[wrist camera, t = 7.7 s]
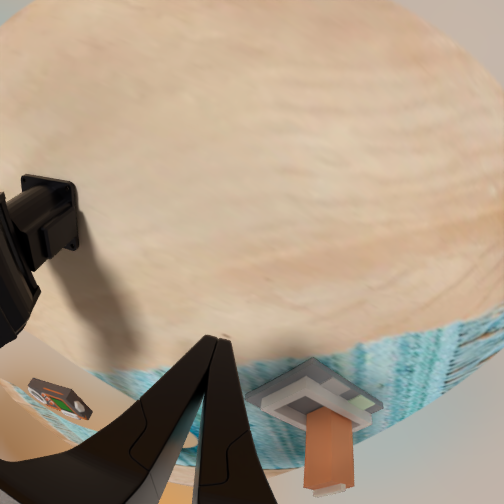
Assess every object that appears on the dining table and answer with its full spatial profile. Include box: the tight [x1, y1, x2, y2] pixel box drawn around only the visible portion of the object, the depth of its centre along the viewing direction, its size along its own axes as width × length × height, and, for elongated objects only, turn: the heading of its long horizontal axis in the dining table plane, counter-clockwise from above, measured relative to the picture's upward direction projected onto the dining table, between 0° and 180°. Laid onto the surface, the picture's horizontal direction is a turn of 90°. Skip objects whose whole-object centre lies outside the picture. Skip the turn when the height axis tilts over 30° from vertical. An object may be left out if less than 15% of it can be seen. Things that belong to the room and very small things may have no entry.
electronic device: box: [28, 378, 92, 420], centre depth 43 cm, size 7×3×15 cm
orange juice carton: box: [304, 406, 354, 497], centre depth 27 cm, size 4×4×10 cm
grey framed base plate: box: [245, 358, 383, 433], centre depth 31 cm, size 13×10×2 cm
